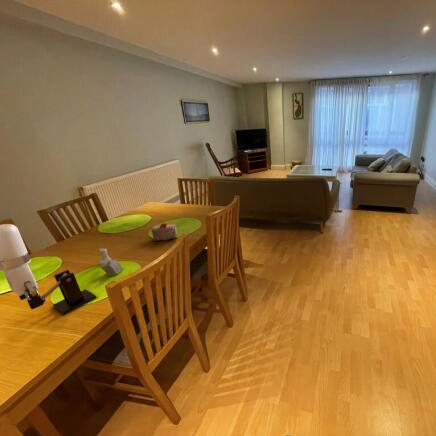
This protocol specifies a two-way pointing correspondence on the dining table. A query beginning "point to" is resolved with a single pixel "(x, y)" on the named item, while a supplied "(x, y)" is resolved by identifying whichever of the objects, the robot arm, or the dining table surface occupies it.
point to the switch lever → (51, 289)
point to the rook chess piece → (104, 254)
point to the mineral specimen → (110, 267)
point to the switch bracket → (71, 293)
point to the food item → (164, 232)
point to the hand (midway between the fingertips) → (32, 302)
